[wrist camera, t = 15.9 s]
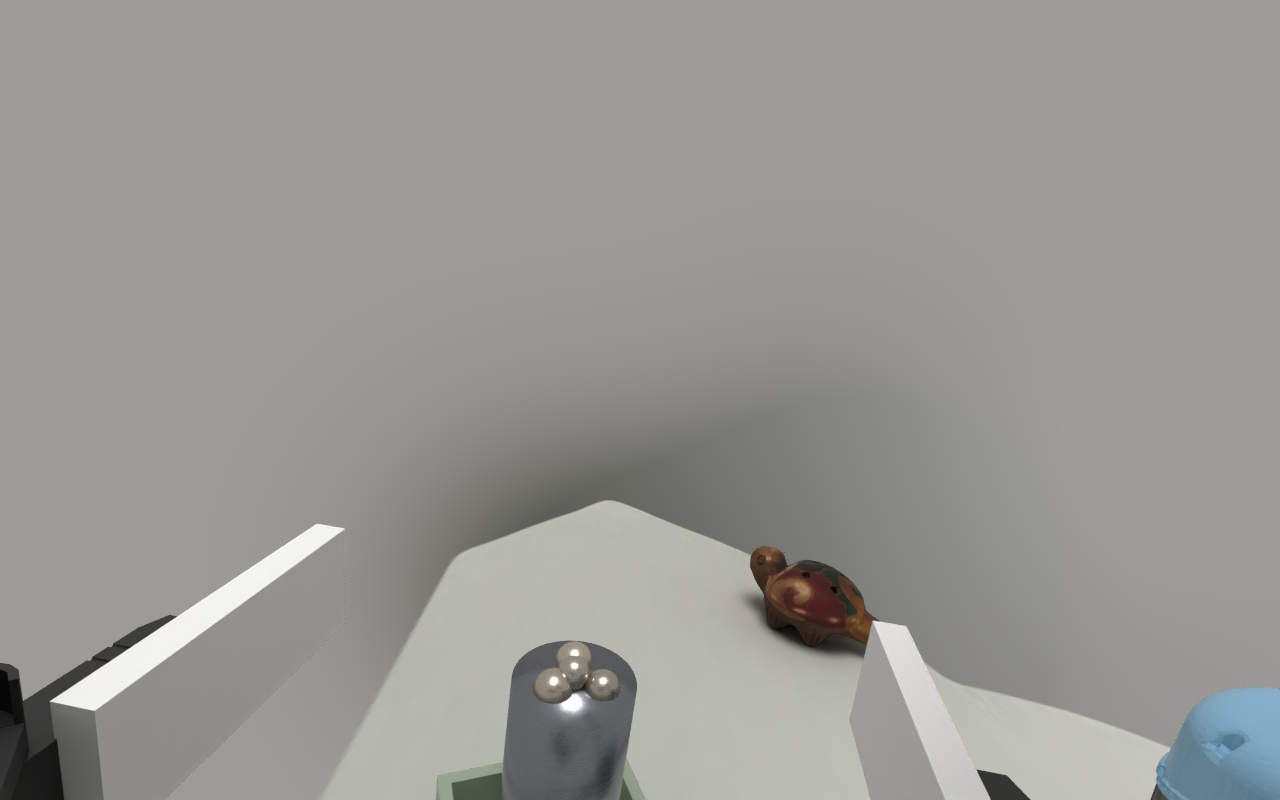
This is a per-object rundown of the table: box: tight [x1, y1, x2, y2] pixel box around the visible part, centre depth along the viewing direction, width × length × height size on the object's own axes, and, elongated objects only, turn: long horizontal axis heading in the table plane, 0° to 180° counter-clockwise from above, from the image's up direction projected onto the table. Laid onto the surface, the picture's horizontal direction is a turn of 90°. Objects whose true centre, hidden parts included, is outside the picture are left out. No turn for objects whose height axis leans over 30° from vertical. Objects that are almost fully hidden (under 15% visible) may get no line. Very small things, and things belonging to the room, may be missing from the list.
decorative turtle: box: [750, 546, 880, 646], centre depth 69 cm, size 10×15×8 cm, turn 61°
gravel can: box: [499, 641, 637, 800], centre depth 37 cm, size 7×7×16 cm
